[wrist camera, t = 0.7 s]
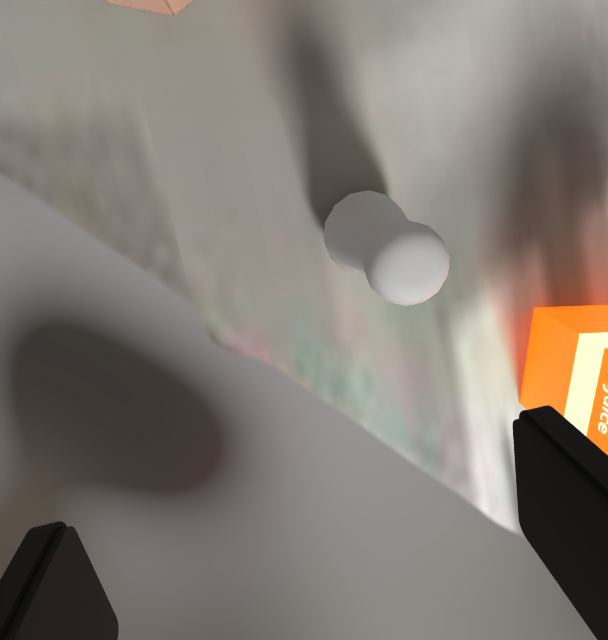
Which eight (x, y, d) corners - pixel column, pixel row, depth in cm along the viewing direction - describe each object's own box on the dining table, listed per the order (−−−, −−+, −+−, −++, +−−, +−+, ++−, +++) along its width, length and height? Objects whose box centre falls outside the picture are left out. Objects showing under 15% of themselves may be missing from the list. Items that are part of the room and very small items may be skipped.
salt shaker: (325, 273, 38) (363, 334, 26) (312, 196, 36) (346, 223, 24) (401, 257, 38) (473, 311, 26) (392, 180, 36) (466, 199, 24)
